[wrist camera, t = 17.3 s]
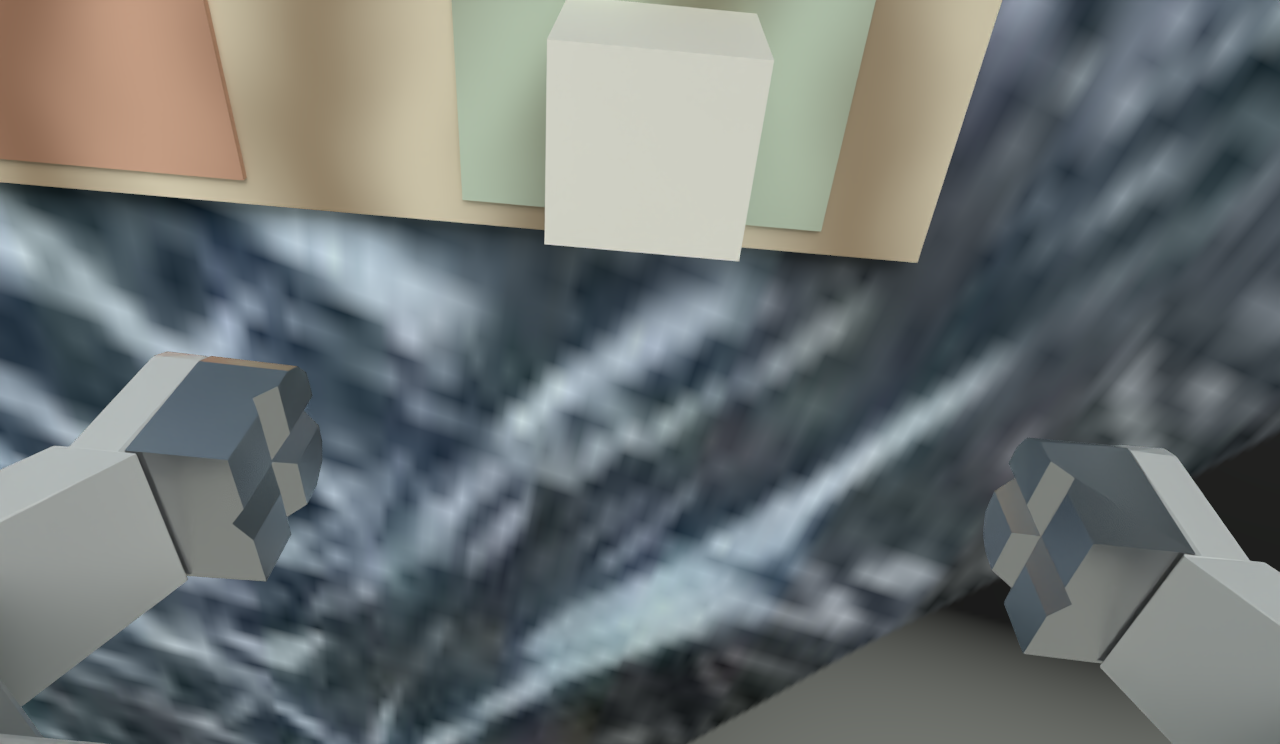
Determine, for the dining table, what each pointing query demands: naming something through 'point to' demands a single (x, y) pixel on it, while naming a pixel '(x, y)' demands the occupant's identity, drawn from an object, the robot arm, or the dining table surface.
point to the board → (467, 108)
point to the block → (653, 127)
